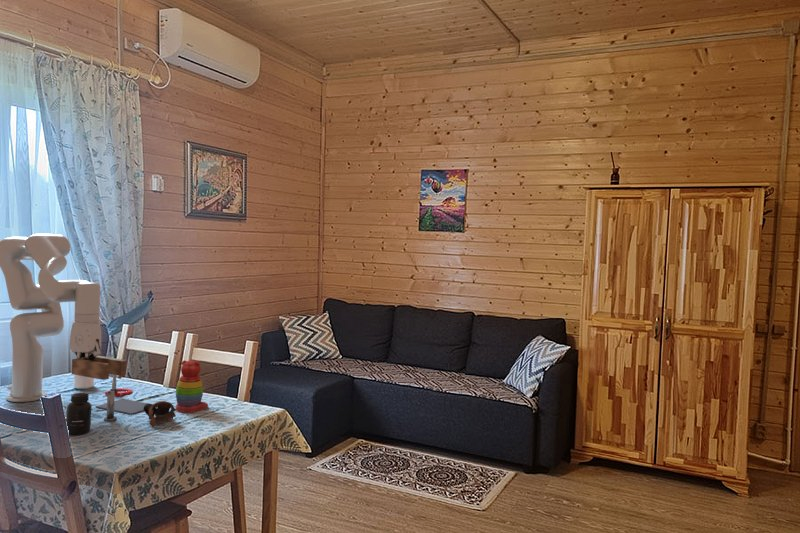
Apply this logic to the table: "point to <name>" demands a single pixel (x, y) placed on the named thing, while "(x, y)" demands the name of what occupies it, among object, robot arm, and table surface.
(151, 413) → the pottery mug
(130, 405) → the mat
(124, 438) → the table surface
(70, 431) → the supplement bottle
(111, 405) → the post
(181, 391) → the stacking bear
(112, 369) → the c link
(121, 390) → the tow hook
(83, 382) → the can
